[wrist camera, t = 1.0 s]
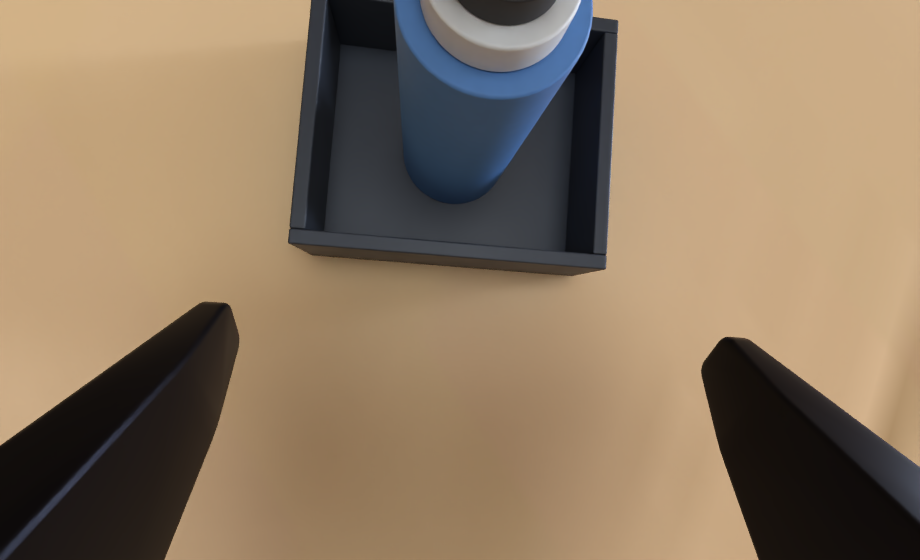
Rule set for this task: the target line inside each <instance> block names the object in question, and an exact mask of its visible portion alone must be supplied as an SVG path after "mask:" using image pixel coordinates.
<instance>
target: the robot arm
mask: <svg viewBox="0 0 920 560" xmlns="http://www.w3.org/2000/svg"><path fill="white" fill-rule="evenodd" d="M238 348H239V333H238V329H237V326H236V323H235V319H234V316H233V313H232V309H231V307H230V306H229V305H228V304H226V303H220V302H202V303H199V304H198V305H196V306H195V307H193V308H192V309H191V310H189V311H188V312H187V313H185V314H184V315H182V316H181V317H180V318H178V319H177V320H175V321H174V322H173V323H171V324H170V325H168V326H167V327H166V328H164V329H163V330H161V331H160V332H159V333H157V334H156V335H154V336H153V337H152V338H150V339H149V340H147V341H146V342H145V343H143V344H142V345H140V346H139V347H138V348H136V349H135V350H133V351H132V352H131V353H129V354H128V355H126V356H125V357H124V358H122V359H121V360H119V361H118V362H117V363H115V364H114V365H112V366H111V367H110V368H108V369H107V370H105V371H104V372H103V373H101V374H100V375H98V376H97V377H96V378H94V379H93V380H91V381H90V382H89V383H87V384H86V385H84V386H83V387H82V388H80V389H79V390H77V391H76V392H75V393H73V394H72V395H70V396H69V397H68V398H66V399H65V400H63V401H62V402H61V403H59V404H58V405H56V406H55V407H54V408H52V409H51V410H49V411H48V412H47V413H45V414H44V415H42V416H41V417H40V418H38V419H37V420H35V421H34V422H33V423H31V424H30V425H28V426H27V427H26V428H24V429H23V430H21V431H20V432H19V433H17V434H16V435H14V436H13V437H12V438H10V439H9V440H7V441H6V442H5V443H3V444H2V445H0V560H164V559H165V556H166V554H167V551H168V549H169V546H170V544H171V541H172V539H173V536H174V534H175V531H176V529H177V527H178V524H179V522H180V519H181V517H182V514H183V512H184V509H185V507H186V504H187V502H188V499H189V497H190V494H191V492H192V489H193V487H194V484H195V482H196V479H197V477H198V474H199V472H200V469H201V467H202V464H203V462H204V459H205V457H206V454H207V452H208V449H209V447H210V444H211V442H212V439H213V436H214V434H215V431H216V428H217V425H218V421H219V418H220V415H221V411H222V407H223V404H224V400H225V396H226V392H227V389H228V385H229V381H230V378H231V374H232V370H233V367H234V363H235V359H236V355H237V352H238ZM701 374H702V379H703V383H704V388H705V392H706V396H707V400H708V404H709V408H710V412H711V416H712V420H713V425H714V429H715V433H716V437H717V441H718V444H719V448H720V451H721V454H722V457H723V460H724V463H725V466H726V469H727V472H728V474H729V477H730V480H731V483H732V486H733V489H734V491H735V494H736V497H737V500H738V503H739V505H740V508H741V511H742V514H743V517H744V520H745V522H746V525H747V528H748V531H749V534H750V536H751V539H752V542H753V545H754V548H755V551H756V553H757V556H758V559H759V560H920V467H919V466H917V465H916V464H915V463H913V462H912V461H911V460H909V459H908V458H907V457H905V456H904V455H903V454H901V453H900V452H899V451H897V450H896V449H895V448H893V447H892V446H891V445H889V444H888V443H887V442H885V441H884V440H883V439H881V438H880V437H879V436H877V435H876V434H875V433H873V432H872V431H871V430H869V429H868V428H867V427H865V426H864V425H863V424H861V423H860V422H859V421H857V420H856V419H855V418H853V417H852V416H851V415H849V414H848V413H847V412H845V411H844V410H843V409H841V408H840V407H839V406H837V405H836V404H835V403H833V402H832V401H831V400H829V399H828V398H827V397H825V396H824V395H823V394H821V393H820V392H819V391H817V390H816V389H814V388H813V387H812V386H810V385H809V384H808V383H806V382H805V381H804V380H802V379H801V378H800V377H798V376H797V375H796V374H794V373H793V372H792V371H790V370H789V369H788V368H786V367H785V366H784V365H782V364H781V363H780V362H778V361H777V360H776V359H774V358H773V357H772V356H770V355H769V354H768V353H766V352H765V351H764V350H762V349H761V348H760V347H758V346H757V345H756V344H754V343H753V342H752V341H750V340H748V339H745V338H737V337H725V338H723V339H721V340H720V341H719V342H718V344H717V345H716V346H715V348H714V349H713V350H712V352H711V353H710V354H709V356H708V357H707V358H706V360H705V361H704V362H703V365H702V369H701Z"/></svg>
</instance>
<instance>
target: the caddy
mask: <svg viewBox="0 0 920 560" xmlns="http://www.w3.org/2000/svg"><path fill="white" fill-rule="evenodd" d="M617 33H618V21H617V20H611V19H604V18H597V17H592V25H591V30H590V34H589V38H588V41H587V43H586V46H585V48H584V51H583V53H582V54H581V56H580V58H579V59H578V61H577V63H576V64H575V66H574V67H573V69H572V70H571V72H570V73H569V75H568V76H567V78H566V79H565V81H564V82H563V83H562V85H561V86H560V88H559V89H558V91H557V92H556V94H555V95H554V97H553V98H552V100H551V101H550V103H549V104H548V106H547V107H546V109H545V110H544V112H543V113H542V115H541V116H540V118H539V119H538V121H537V122H536V124H535V125H534V127H533V128H532V130H531V131H530V133H529V134H528V136H527V137H526V139H525V140H524V142H523V143H522V145H521V146H520V148H519V149H518V151H517V152H516V154H515V155H514V157H513V158H512V160H511V161H510V163H509V164H508V166H507V167H506V169H505V170H504V172H503V173H502V175H501V176H500V178H499V179H498V181H497V182H496V183H495V185H494V186H493V187H492V188H491V189H490V190H489V191H488V192H487V193H486V194H485V195H483V196H482V197H480V198H478V199H476V200H474V201H471V202H467V203H462V204H449V203H444V202H440V201H437V200H435V199H433V198H431V197H429V196H427V195H426V194H424V193H423V192H422V191H421V190H420V189H419V188H418V187H417V186H416V185H415V184H414V182H413V181H412V180H411V178H410V176H409V174H408V172H407V169H406V166H405V162H404V154H403V139H402V124H401V108H400V93H399V78H398V62H397V47H396V31H395V16H394V0H311V9H310V19H309V30H308V40H307V51H306V61H305V72H304V82H303V92H302V103H301V113H300V124H299V134H298V144H297V155H296V165H295V176H294V186H293V196H292V207H291V217H290V228H291V229H290V230H289V238H288V243H289V244H291V245H293V246H295V247H297V248H299V249H301V250H303V251H305V252H307V253H309V254H311V255H317V256H329V257H342V258H354V259H367V260H379V261H392V262H404V263H417V264H429V265H442V266H454V267H467V268H479V269H492V270H504V271H517V272H529V273H542V274H554V275H567V276H574V275H578V274H584V273H589V272H594V271H599V270H604V269H606V254H607V237H608V217H609V197H610V177H611V157H612V137H613V117H614V97H615V77H616V56H617V36H618V35H617Z"/></svg>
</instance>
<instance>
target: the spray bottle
mask: <svg viewBox="0 0 920 560" xmlns="http://www.w3.org/2000/svg"><path fill="white" fill-rule="evenodd" d="M394 16H395V31H396V47H397V62H398V78H399V93H400V108H401V124H402V139H403V154H404V162H405V166H406V169H407V172H408V174H409V176H410V178H411V180H412V181H413V182H414V184H415V185H416V186H417V187H418V188H419V189H420V190H421V191H422V192H423V193H424V194H426V195H427V196H429V197H431V198H433V199H435V200H437V201H440V202H444V203H449V204H462V203H467V202H471V201H474V200H476V199H478V198H480V197H482V196H483V195H485V194H486V193H487V192H488V191H489V190H490V189H491V188H492V187H493V186H494V185H495V183H496V182H497V181H498V179H499V178H500V176H501V175H502V173H503V172H504V170H505V169H506V167H507V166H508V164H509V163H510V161H511V160H512V158H513V157H514V155H515V154H516V152H517V151H518V149H519V148H520V146H521V145H522V143H523V142H524V140H525V139H526V137H527V136H528V134H529V133H530V131H531V130H532V128H533V127H534V125H535V124H536V122H537V121H538V119H539V118H540V116H541V115H542V113H543V112H544V110H545V109H546V107H547V106H548V104H549V103H550V101H551V100H552V98H553V97H554V95H555V94H556V92H557V91H558V89H559V88H560V86H561V85H562V83H563V82H564V81H565V79H566V78H567V76H568V75H569V73H570V72H571V70H572V69H573V67H574V66H575V64H576V63H577V61H578V59H579V58H580V56H581V54H582V53H583V51H584V48H585V46H586V43H587V41H588V38H589V34H590V30H591V25H592V17H593V7H592V0H394Z"/></svg>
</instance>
